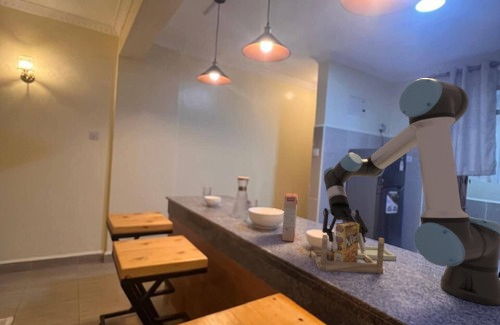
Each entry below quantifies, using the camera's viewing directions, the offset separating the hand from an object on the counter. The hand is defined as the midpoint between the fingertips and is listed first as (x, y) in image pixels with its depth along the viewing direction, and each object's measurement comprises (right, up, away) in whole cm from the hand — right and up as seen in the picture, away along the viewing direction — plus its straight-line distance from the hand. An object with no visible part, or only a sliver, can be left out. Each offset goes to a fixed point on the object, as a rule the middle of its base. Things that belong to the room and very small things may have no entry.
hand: (349, 250), depth 99 cm
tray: (+14, -7, +16) cm, 23 cm away
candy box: (0, -6, +3) cm, 7 cm away
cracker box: (-17, -5, +35) cm, 39 cm away
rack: (0, -6, +5) cm, 8 cm away
